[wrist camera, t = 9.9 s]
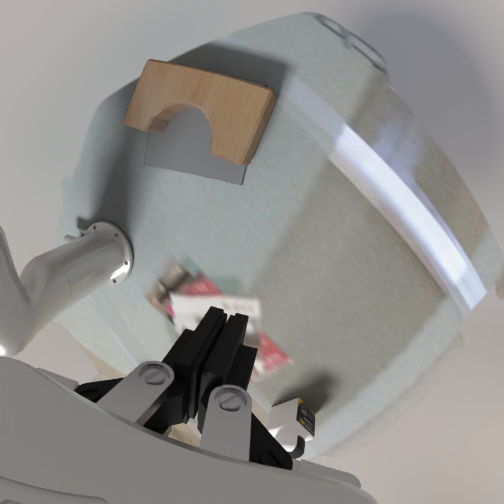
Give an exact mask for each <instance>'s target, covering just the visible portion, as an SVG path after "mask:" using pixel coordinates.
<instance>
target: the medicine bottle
mask: <svg viewBox="0 0 504 504" xmlns="http://www.w3.org/2000/svg"><path fill="white" fill-rule="evenodd" d="M267 430H268V431H269V432H270V433H271V435H272V436H273V437H274V438H275V439H276V440H277V441H278V442H279V443H280V444H281V445H282V447H283V448H284V449H285V450H286V451H287V452H288V453H289V454H290V456H291V457H292V459H296V458H299V457H301V456H302V455H303V454H304V448H305V441H308V440H311V439H314V431H315V414H314V413H313V412H312V411H311V410H310V408H309V407H308V406H307V405H306V404H305V403H304V402H303V401H302V400H301V399H300V398H299V397H298V398H295V399H293V400H290V401H287V402H285V403H282V404H279V405H276V406H273V407H271V411H270V415H269V420H268V425H267Z"/></svg>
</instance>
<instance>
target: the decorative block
mask: <svg viewBox="0 0 504 504" xmlns="http://www.w3.org/2000/svg"><path fill="white" fill-rule="evenodd" d="M276 101H277V100H276V98H275V95H274V93H273V91H272V89H270V88H267V87H264V86H261V85H258V84H255V83H251V82H248V81H245V80H242V79H238V78H235V77H231V76H228V75H224V74H220V73H216V72H212V71H208V70H204V69H200V68H195V67H191V66H186V65H181V64H176V63H170V62H165V61H159V60H153V59H150V60H148V61H147V62H146V65H145V67H144V69H143V72H142V74H141V76H140V79H139V81H138V84H137V86H136V89H135V91H134V94H133V96H132V99H131V102H130V104H129V107H128V110H127V113H126V115H125V118H124V121H123V123H124V125H126V126H129V127H133V128H136V129H139V130H142V131H147V132H153V133H162V132H163V131H164V129H165V128H166V126H167V124H168V122H169V121H170V120H171V119H172V118H174V117H175V116H176V115H178V114H179V113H181V112H184V111H186V110H189V109H201V111H202V112H203V114H204V115H205V117H206V118H207V120H208V122H209V126H210V130H211V134H212V137H211V143H210V149H209V151H210V153H211V154H212V155H214V156H217V157H220V158H222V159H225V160H227V161H230V162H232V163H235V164H238V165H248V164H250V162H251V160H252V158H253V155H254V153H255V150H256V148H257V145H258V143H259V141H260V138H261V136H262V134H263V131H264V129H265V126H266V124H267V122H268V119H269V117H270V115H271V113H272V110H273V108H274V106H275V103H276Z"/></svg>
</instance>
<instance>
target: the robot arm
mask: <svg viewBox="0 0 504 504" xmlns="http://www.w3.org/2000/svg"><path fill="white" fill-rule="evenodd" d="M64 242H65V243H66V244H64V245H62V246H59V247H57V248H55V249H52V250H50V251H48V252H46V253H43V254H41V255H39V256H37V257H35V258H33V259H32V260H31V261H30V262H29V263H28V264H27V265H26V266H25V268H24V270H23V272H22V274H21V275H20V278H19V277H18V275H17V272H16V269H15V265H14V262H13V259H12V256H11V253H10V249H9V246H8V243H7V239H6V237H5V234H4V231H3V229H2V228H1V226H0V504H378V503H377V501H376V500H375V499H374V498H373V497H372V496H371V495H370V494H368V493H367V492H365V491H363V490H362V489H361V484H360V482H359V480H358V479H357V478H356V477H355V476H354V475H352V474H350V473H347V472H343V471H339V470H335V469H332V468H328V467H325V466H322V465H318V464H315V463H312V462H309V461H306V460H303V459H301V461H298V460H295V459H292V457H291V456H290V454H289V453H288V452H287V451H286V450H285V449H284V448H283V447H282V445H281V444H280V443H279V442H278V441H277V440H276V439H275V438H274V437H273V436H272V435H271V433H270V432H269V431H268V430H267V429H266V428H265V427H264V426H263V424H262V423H261V422H260V421H259V420H258V419H257V418H256V416H255V415H254V414H253V413H252V412H251V411H252V400H251V397H250V395H249V393H248V392H247V391H246V390H247V387H248V384H249V380H250V377H251V373H252V370H253V366H254V362H255V358H256V354H257V350H258V349H257V348H253V347H249V346H245V345H243V342H244V337H245V332H246V327H247V322H248V317H249V316H247V315H243V314H239V313H236V314H235V316H233V315H230V317H229V319H228V321H227V314H226V313H224V310H223V309H220V308H216V307H213V306H211V307H210V308H209V310H208V311H207V313H206V314H205V316H204V317H203V319H202V320H201V322H200V323H199V325H198V326H197V328H196V329H195V331H192V330H189V329H185V330H184V331H183V333H182V334H181V336H180V337H179V338H178V340H177V341H176V343H175V344H174V345H173V347H172V348H171V349H170V351H169V352H168V354H167V355H166V356H165V358H164V359H163V361H162V362H159V361H147V362H144V363H142V364H140V365H139V366H138V367H137V368H135V369H134V370H133V371H132V372H131V373H130V374H129V375H127V376H126V377H125V378H118V379H112V380H105V381H98V382H90V383H85V384H81V385H79V384H78V382H77V381H74V380H71V379H68V378H65V377H63V376H60V375H57V374H55V373H52V372H49V371H47V370H44V369H40V368H34V367H33V366H31V365H29V364H26V363H24V362H22V361H19V360H16V359H12V358H11V357H13V356H15V355H17V354H18V353H20V352H21V351H22V350H24V348H25V347H26V346H27V345H28V344H29V343H30V342H31V341H32V339H33V338H34V337H35V336H36V335H37V334H38V333H39V332H40V331H41V330H42V329H43V328H44V326H46V325H47V324H48V323H49V322H50V321H52V320H53V319H54V318H55V317H57V316H58V315H60V314H61V313H62V312H64V311H65V310H67V309H68V308H69V307H71V306H72V305H74V304H75V303H77V302H78V301H80V300H81V299H83V298H84V297H86V296H87V295H88V294H90V293H91V292H93V291H94V290H96V289H97V288H99V287H100V286H102V285H103V284H108V285H117V284H119V283H121V282H123V281H124V280H125V279H126V278H127V277H128V276H129V274H130V272H131V269H132V263H133V259H132V251H131V247H130V245H129V242H128V240H127V238H126V236H125V235H124V234H123V232H122V231H121V230H120V229H119V228H118V227H116V226H115V225H114V224H111V223H109V222H104V221H103V222H97V223H94V224H93V225H91V226H90V227H89V228H88V229H87V230H86V232H85V234H84V236H83V237H77V238H75V237H74V236H71V235H68V234H67V235H66V236H65V238H64ZM226 321H227V323H226ZM197 412H198V418H197V420H198V430H199V431H200V433H201V434H202V437H201V441H200V446H199V448H198V447H195V446H192V445H189V444H186V443H183V442H180V441H177V440H175V439H172V438H169V437H168V436H169V434H170V433H171V432H172V430H173V428H174V425H176V424H180V423H185V424H187V422H188V420H189V418H192V419H194V418H195V416H196V414H197Z"/></svg>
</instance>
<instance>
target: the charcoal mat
mask: <svg viewBox="0 0 504 504" xmlns="http://www.w3.org/2000/svg"><path fill="white" fill-rule="evenodd" d="M242 80H244V79H242ZM245 81H248V82H251V83H255V84H258V85H261V86H264V87H265V86H266V83H263V82H257V81H250V80H245ZM211 137H212V134H211V130H210V126H209V122H208V120H207V118H206V117H205V115H204V114H203V112H202V111H201V109H189V110H186V111H184V112H181V113H179V114H178V115H176V116H175V117H174V118H172V119H171V120H170V121H169V122H168V124H167V126H166V128H165V129H164V131H163V132H162V133H153V132H150V133H149V138H148V143H147V149H146V154H145V160H144V165H149V166H154V167H160V168H165V169H170V170H175V171H180V172H185V173H190V174H195V175H199V176H204V177H209V178H213V179H218V180H222V181H226V182H231V183H235V184H239V185H242V183H243V179H244V174H245V170H246V165H238V164H235V163H232V162H230V161H227V160H225V159H222V158H220V157H217V156H214V155H212V154H211V153H210V151H209V149H210V143H211Z"/></svg>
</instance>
